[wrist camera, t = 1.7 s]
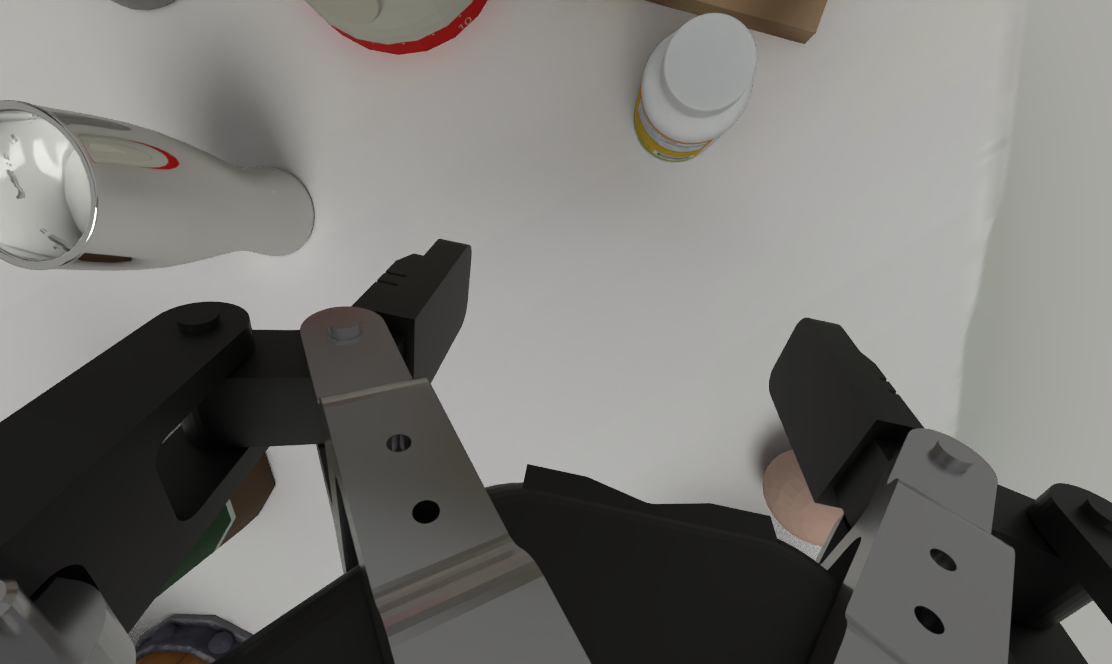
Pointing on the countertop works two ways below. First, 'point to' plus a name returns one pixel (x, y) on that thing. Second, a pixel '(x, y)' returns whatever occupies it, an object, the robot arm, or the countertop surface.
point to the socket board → (762, 14)
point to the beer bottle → (230, 517)
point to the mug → (189, 640)
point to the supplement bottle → (695, 87)
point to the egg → (796, 501)
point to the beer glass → (132, 197)
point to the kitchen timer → (398, 21)
